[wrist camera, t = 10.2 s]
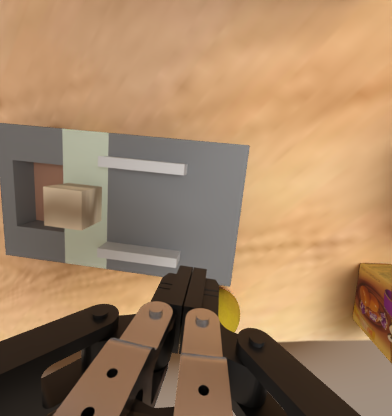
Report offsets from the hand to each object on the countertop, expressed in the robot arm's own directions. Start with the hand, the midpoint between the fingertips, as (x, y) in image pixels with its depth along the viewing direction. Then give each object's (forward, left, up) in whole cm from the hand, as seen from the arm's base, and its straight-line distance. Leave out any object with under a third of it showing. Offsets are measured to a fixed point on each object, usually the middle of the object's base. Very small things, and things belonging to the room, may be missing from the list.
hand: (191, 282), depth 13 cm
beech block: (0, -16, -17) cm, 23 cm away
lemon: (+13, +3, -21) cm, 25 cm away
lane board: (0, -12, -21) cm, 24 cm away
